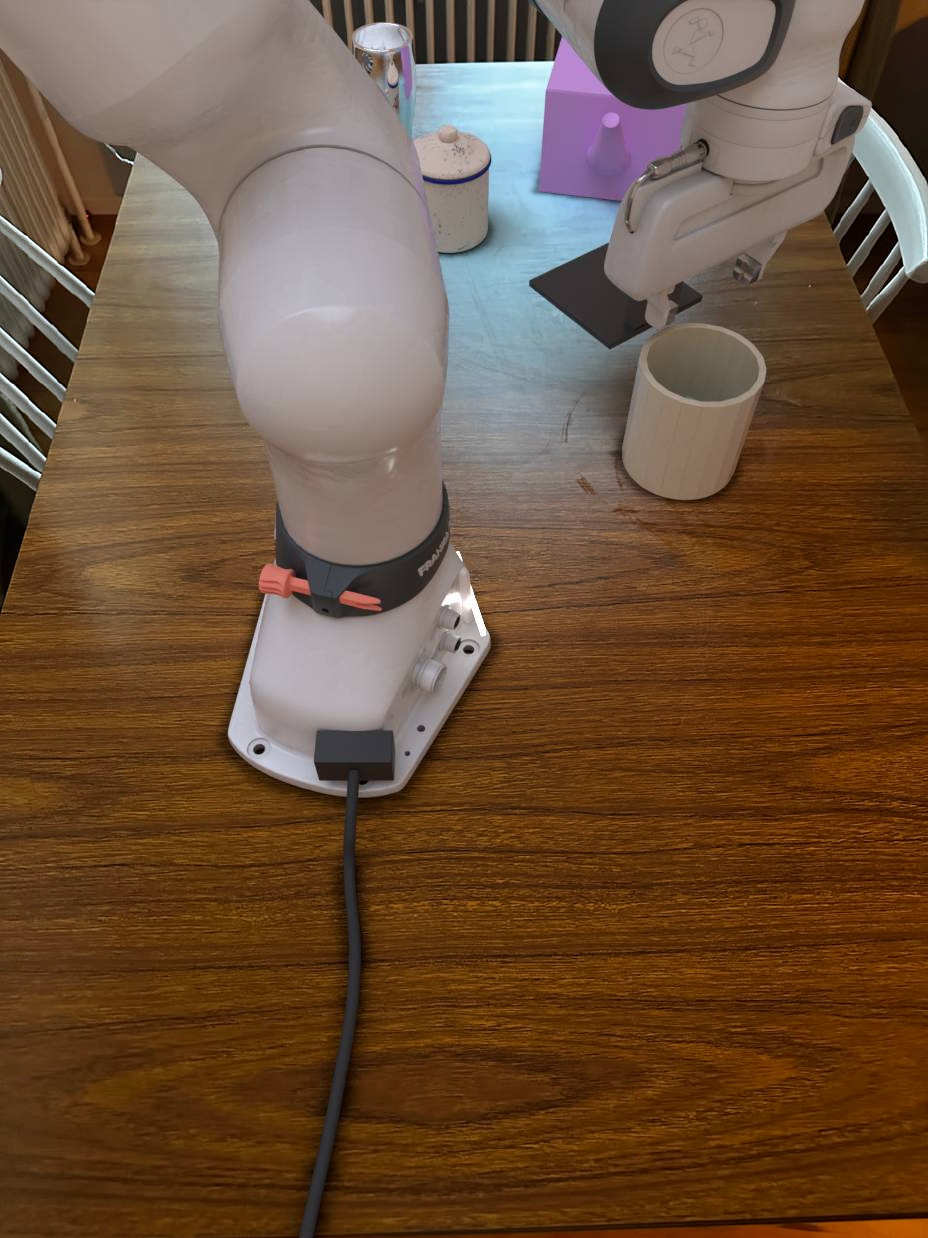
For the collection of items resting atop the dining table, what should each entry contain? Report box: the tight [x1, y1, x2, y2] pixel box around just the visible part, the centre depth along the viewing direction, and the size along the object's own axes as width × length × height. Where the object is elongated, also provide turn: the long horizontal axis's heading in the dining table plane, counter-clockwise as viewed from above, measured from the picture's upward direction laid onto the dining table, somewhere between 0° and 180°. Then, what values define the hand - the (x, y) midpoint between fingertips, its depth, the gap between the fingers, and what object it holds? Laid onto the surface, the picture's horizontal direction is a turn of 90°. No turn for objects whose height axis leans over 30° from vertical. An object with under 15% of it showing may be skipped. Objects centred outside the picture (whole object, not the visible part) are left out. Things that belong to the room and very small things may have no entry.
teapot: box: [538, 35, 687, 202], centre depth 108 cm, size 15×25×14 cm, turn 169°
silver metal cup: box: [351, 21, 418, 140], centre depth 108 cm, size 7×7×15 cm
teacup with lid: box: [413, 124, 492, 254], centre depth 102 cm, size 12×9×12 cm
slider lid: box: [528, 242, 704, 350], centre depth 81 cm, size 11×11×4 cm
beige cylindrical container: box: [621, 322, 768, 501], centre depth 82 cm, size 10×10×11 cm
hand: (703, 300), depth 74 cm, fingers open, 8 cm apart
